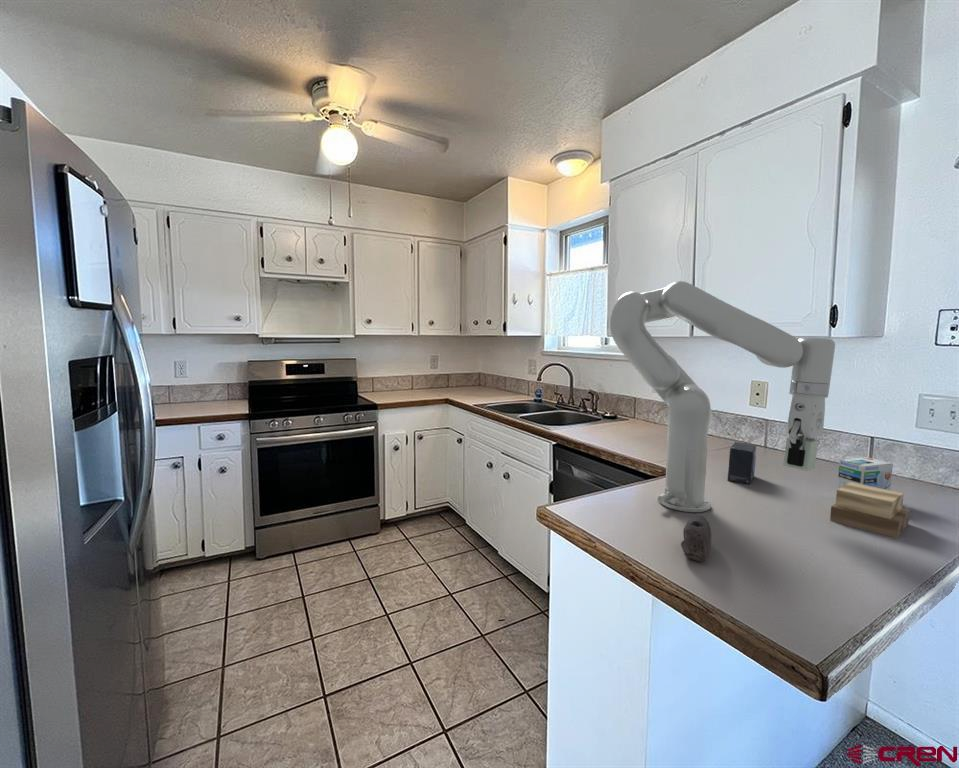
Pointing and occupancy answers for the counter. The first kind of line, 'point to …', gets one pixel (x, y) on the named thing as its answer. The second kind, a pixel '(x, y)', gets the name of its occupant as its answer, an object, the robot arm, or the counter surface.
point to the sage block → (809, 456)
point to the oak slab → (869, 500)
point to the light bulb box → (865, 472)
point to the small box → (742, 462)
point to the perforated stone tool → (697, 538)
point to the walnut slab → (871, 520)
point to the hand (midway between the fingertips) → (799, 462)
